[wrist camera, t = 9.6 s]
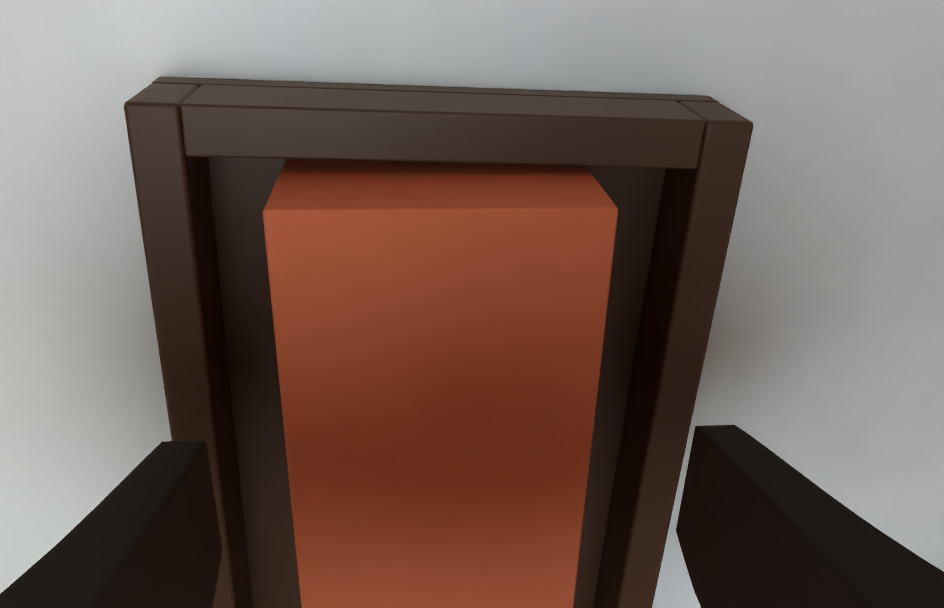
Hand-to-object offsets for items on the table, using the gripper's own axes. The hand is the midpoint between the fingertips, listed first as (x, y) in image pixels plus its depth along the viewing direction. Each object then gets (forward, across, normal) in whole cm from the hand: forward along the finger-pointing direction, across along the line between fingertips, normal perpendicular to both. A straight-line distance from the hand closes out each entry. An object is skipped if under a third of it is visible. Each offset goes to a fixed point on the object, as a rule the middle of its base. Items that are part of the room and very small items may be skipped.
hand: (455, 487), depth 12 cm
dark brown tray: (+5, 0, +5) cm, 7 cm away
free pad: (+4, 0, 0) cm, 4 cm away
